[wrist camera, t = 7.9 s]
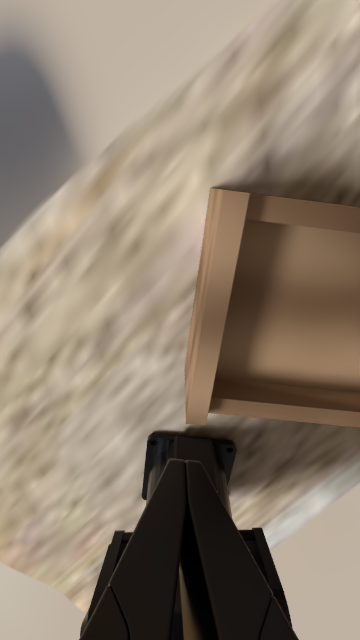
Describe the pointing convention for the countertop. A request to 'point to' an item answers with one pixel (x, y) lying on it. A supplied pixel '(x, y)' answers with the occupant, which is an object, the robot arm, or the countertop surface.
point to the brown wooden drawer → (276, 312)
